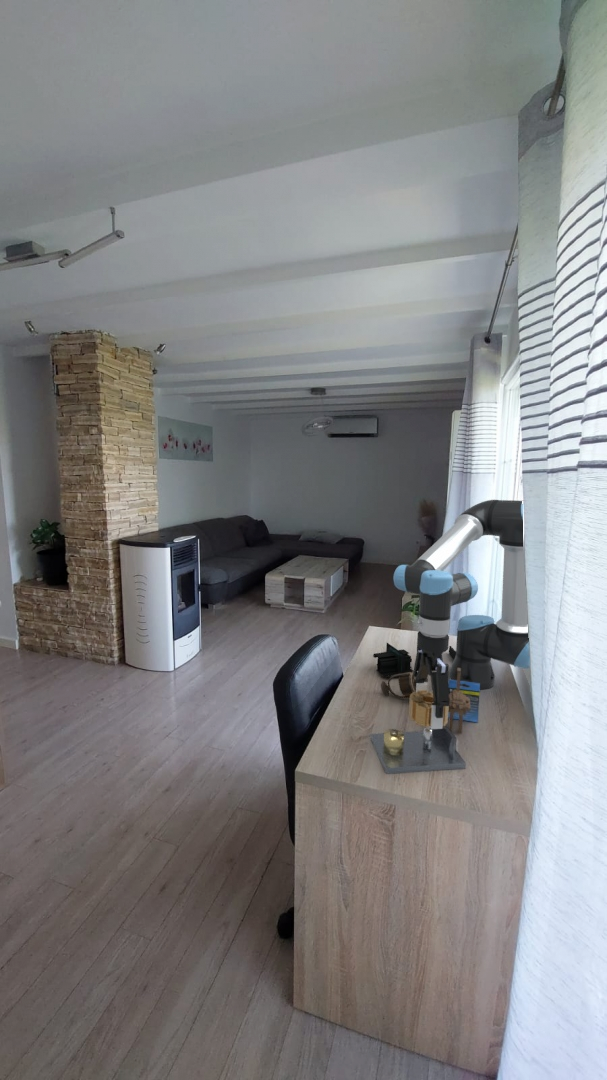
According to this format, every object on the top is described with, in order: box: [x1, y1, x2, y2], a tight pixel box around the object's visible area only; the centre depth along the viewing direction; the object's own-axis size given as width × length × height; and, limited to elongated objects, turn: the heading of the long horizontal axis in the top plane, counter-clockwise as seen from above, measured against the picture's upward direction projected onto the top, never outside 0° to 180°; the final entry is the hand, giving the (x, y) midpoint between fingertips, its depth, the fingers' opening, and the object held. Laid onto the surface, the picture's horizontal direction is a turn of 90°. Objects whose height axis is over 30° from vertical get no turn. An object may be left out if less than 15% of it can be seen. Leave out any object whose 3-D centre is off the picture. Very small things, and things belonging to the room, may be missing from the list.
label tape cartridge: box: [448, 678, 481, 723], centre depth 127 cm, size 9×4×12 cm, turn 74°
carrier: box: [370, 725, 467, 775], centre depth 110 cm, size 20×14×6 cm
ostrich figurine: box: [448, 668, 470, 735], centre depth 115 cm, size 17×7×18 cm, turn 160°
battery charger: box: [448, 645, 456, 661], centre depth 169 cm, size 13×10×4 cm
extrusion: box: [373, 642, 414, 678], centre depth 155 cm, size 12×12×10 cm
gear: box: [408, 690, 449, 728], centre depth 109 cm, size 9×9×5 cm
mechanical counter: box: [380, 669, 417, 700], centre depth 136 cm, size 7×13×10 cm, turn 78°
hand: (428, 716), depth 109 cm, fingers closed on gear, 9 cm apart
